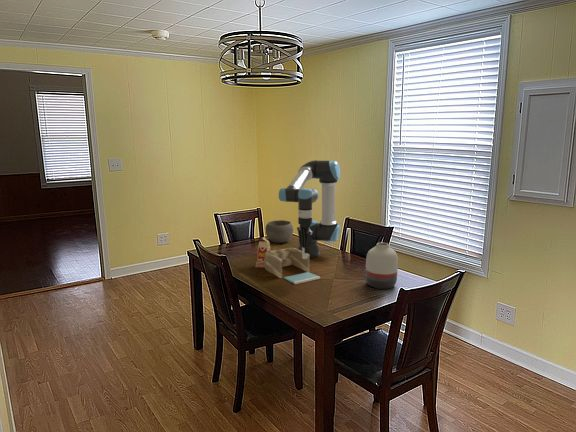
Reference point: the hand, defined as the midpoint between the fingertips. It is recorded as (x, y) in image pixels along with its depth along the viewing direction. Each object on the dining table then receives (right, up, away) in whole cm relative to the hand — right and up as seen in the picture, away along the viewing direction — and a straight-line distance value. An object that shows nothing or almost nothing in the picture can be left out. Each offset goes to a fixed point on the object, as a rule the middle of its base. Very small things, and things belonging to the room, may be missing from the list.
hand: (304, 258), depth 238 cm
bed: (-10, -10, +18) cm, 23 cm away
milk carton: (-24, -9, +28) cm, 38 cm away
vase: (+42, -15, -2) cm, 44 cm away
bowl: (-16, +4, +87) cm, 89 cm away
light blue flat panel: (-5, -11, +10) cm, 15 cm away
